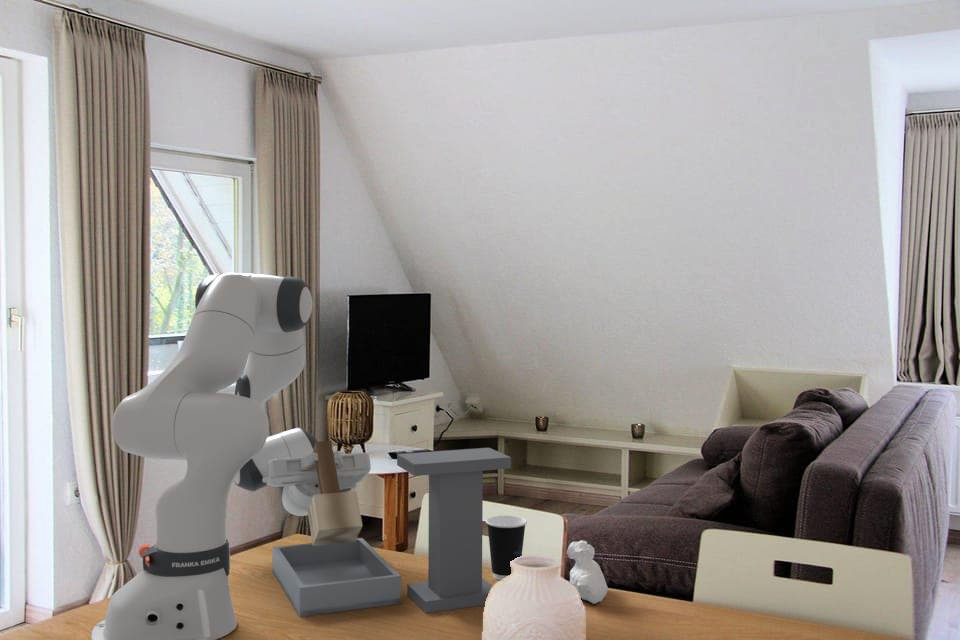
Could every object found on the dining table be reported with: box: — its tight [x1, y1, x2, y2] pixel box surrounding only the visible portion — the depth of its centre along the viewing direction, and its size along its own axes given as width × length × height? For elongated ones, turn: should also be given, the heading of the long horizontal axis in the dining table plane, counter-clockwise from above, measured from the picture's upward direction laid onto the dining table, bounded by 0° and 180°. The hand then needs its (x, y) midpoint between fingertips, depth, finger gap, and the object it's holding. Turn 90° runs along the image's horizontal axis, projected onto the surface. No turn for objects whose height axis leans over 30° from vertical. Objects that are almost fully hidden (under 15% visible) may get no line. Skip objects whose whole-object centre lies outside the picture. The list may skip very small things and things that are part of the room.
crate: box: [272, 537, 402, 618], centre depth 176 cm, size 18×26×5 cm
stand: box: [396, 447, 512, 614], centre depth 170 cm, size 18×10×26 cm, turn 112°
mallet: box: [307, 440, 363, 546], centre depth 179 cm, size 8×19×7 cm
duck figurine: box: [566, 539, 609, 605], centre depth 172 cm, size 12×8×11 cm
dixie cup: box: [485, 515, 528, 581], centre depth 183 cm, size 8×8×11 cm
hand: (326, 455), depth 181 cm, fingers closed on mallet, 3 cm apart
